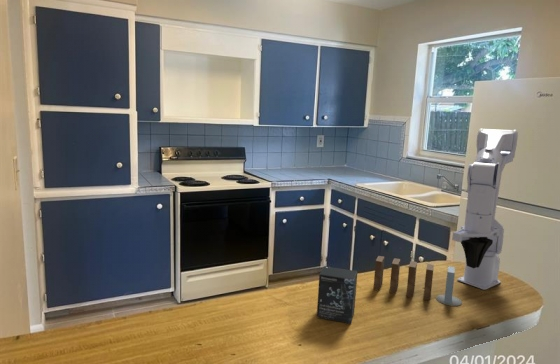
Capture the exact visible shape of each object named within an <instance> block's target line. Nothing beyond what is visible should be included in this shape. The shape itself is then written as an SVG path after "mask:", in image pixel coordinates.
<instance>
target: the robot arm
mask: <svg viewBox="0 0 560 364" xmlns="http://www.w3.org/2000/svg"><path fill="white" fill-rule="evenodd" d="M518 137H519V131H518V130H517V129H495V128H494V129H493V128H484V127H483V128H482V127H481V128H479V130H478V132H477V136H476V157H475V159H474V162H473V163H470V164H469V165H468V169H467V174H466V175H467V176H466V182H467V188H466V190H467V191H466V192H467V193H468V194H467V200H466V207H465V208H466V210H465V218H464V219H465V220H464V225H462V226H460V229H459V230H457V231H452V236H451V237H452V241H455V242H458V243H461V247H462V249H463V252H464V255H465V257H464V258H465V265H464V274H463V276H461V277H458V278H457V281H458V282H461V283H464V284H467V285H470V286H472V287H474V288H478V289H481V290H484V291H486V290H487V289H490V288H492V287H494V286H496V285H499V284H501V282H502V281H501V280H499V271H500V264H501V260H500V257H499V255H500V254H501V253H502V250H503V244H504V237H505V236H504V233H505V229H504V225H502V224H501V223H500V222H499V221H498V220H497V219H495V218H496V211H497V206H498V205H497V204H498V198H499V192H500V188H501V186H500V185H501V180H502V173H503V171H504V168H505V166H506V164H509V163H512V162H514V159H515V155H516V150H517V146H518V144H517V143H518Z"/></svg>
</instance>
